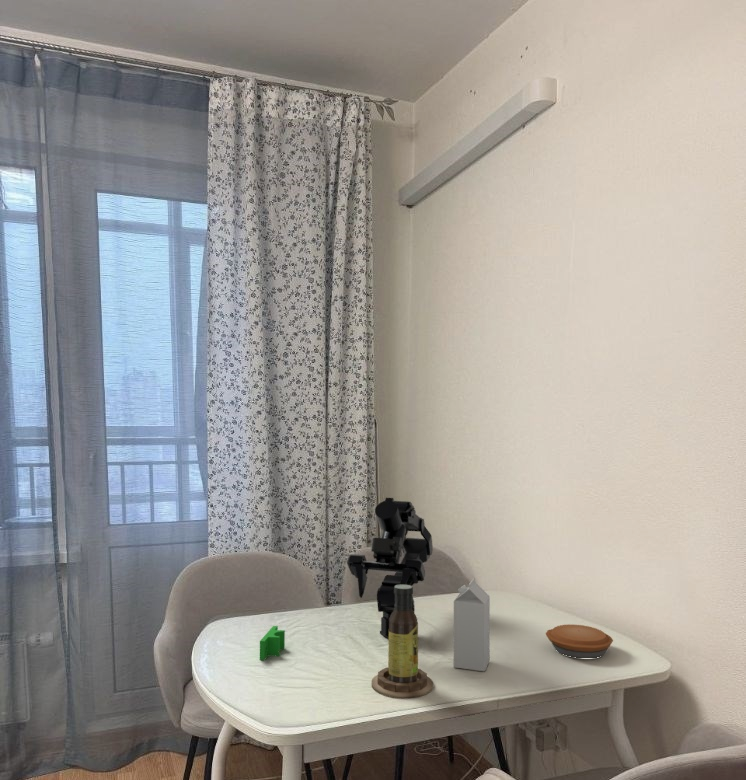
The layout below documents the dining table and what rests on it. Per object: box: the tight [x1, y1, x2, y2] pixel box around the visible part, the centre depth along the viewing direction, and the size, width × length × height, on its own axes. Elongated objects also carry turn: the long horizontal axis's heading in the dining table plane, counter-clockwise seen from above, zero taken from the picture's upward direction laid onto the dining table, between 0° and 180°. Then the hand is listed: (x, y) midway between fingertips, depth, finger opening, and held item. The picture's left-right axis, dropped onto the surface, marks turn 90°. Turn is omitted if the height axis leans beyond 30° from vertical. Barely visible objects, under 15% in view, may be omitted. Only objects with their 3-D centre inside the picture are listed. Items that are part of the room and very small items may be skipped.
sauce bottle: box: [387, 585, 419, 683], centre depth 138 cm, size 6×6×20 cm
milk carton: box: [452, 577, 491, 672], centre depth 150 cm, size 7×7×19 cm
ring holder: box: [371, 667, 434, 699], centre depth 138 cm, size 13×13×2 cm
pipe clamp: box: [259, 625, 286, 661], centre depth 157 cm, size 11×4×5 cm, turn 173°
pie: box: [545, 624, 614, 659], centre depth 159 cm, size 16×16×5 cm
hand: (378, 598), depth 155 cm, fingers open, 9 cm apart
